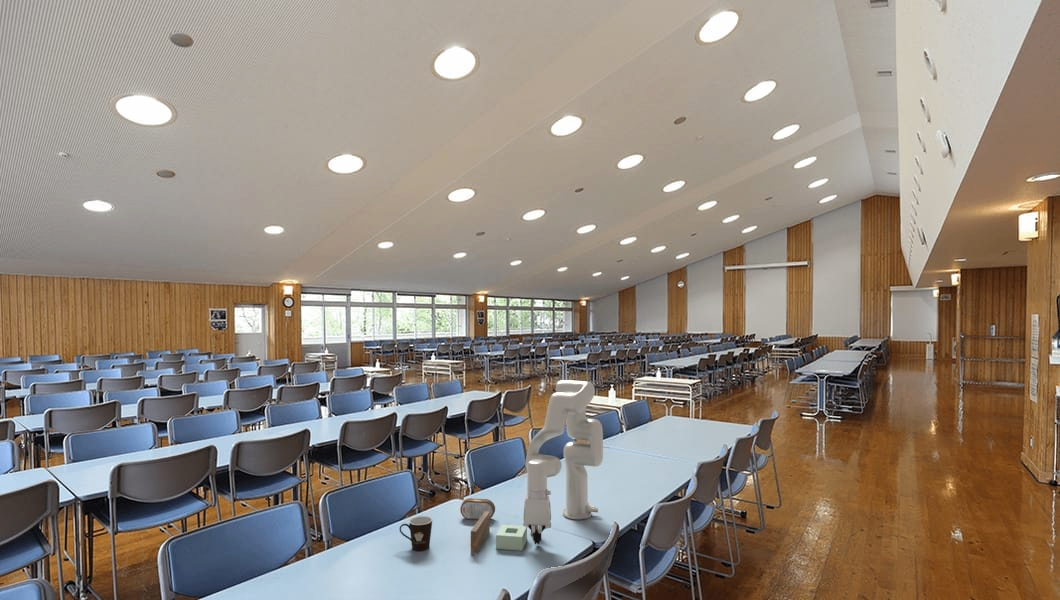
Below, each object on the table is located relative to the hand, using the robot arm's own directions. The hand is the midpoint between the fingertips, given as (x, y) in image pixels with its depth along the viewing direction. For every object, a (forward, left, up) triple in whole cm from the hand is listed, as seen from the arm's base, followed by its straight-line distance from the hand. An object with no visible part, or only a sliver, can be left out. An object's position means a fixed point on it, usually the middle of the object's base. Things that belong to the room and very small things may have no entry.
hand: (537, 542), depth 192 cm
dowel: (+3, -10, -1) cm, 10 cm away
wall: (+22, 0, -1) cm, 22 cm away
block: (+10, 0, -1) cm, 10 cm away
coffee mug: (+45, +8, -2) cm, 45 cm away
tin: (+30, -22, -2) cm, 37 cm away
